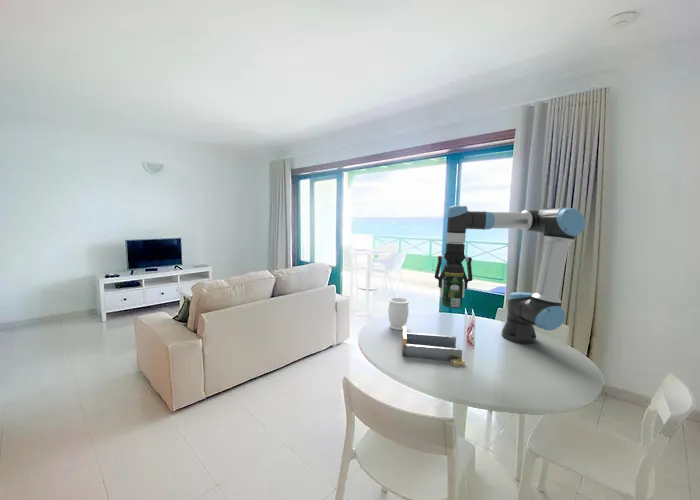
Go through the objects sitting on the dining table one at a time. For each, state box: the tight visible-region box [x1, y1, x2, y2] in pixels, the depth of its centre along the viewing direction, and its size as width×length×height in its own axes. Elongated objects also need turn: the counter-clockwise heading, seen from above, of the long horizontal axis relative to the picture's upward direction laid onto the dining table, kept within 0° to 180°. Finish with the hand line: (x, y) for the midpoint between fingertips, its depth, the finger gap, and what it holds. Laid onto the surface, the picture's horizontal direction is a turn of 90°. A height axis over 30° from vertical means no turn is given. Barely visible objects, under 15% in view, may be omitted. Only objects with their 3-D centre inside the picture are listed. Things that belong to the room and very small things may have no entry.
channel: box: [401, 325, 463, 362], centre depth 135 cm, size 24×15×8 cm, turn 81°
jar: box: [387, 297, 410, 331], centre depth 163 cm, size 11×10×15 cm
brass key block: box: [449, 358, 466, 367], centre depth 124 cm, size 5×2×2 cm, turn 108°
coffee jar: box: [441, 263, 465, 309], centre depth 131 cm, size 10×8×19 cm
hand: (451, 295), depth 131 cm, fingers closed on coffee jar, 8 cm apart
